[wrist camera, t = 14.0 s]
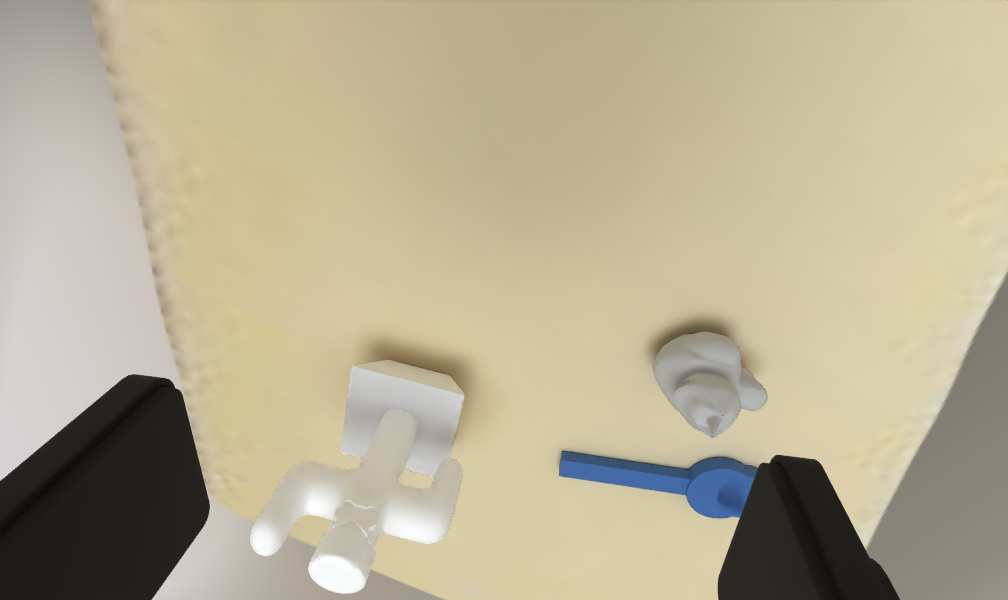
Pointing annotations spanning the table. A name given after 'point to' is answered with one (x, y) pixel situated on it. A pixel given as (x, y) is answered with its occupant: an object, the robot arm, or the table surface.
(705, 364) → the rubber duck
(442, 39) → the table surface
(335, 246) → the table surface
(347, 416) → the figurine
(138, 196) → the table surface
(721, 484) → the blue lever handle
